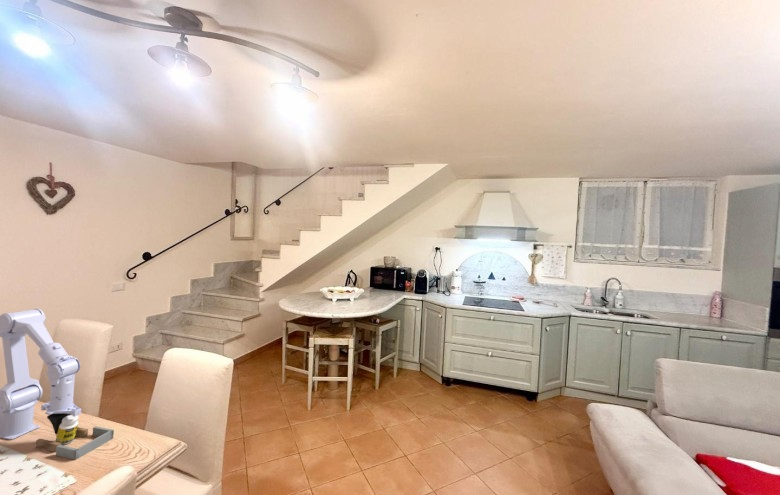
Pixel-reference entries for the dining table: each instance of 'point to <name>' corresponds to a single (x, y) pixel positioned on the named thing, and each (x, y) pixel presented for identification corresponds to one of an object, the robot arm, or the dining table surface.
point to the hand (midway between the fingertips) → (59, 432)
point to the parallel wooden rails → (52, 445)
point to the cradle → (74, 453)
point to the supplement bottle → (67, 430)
